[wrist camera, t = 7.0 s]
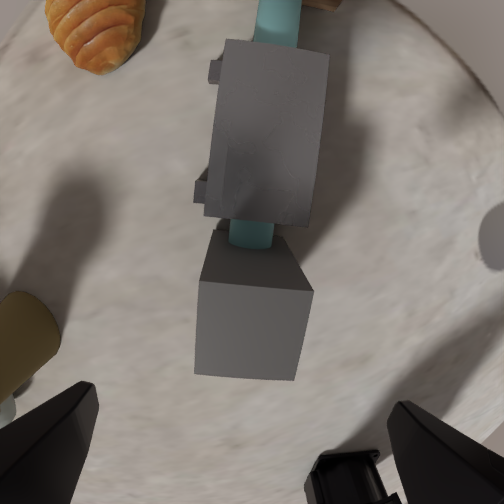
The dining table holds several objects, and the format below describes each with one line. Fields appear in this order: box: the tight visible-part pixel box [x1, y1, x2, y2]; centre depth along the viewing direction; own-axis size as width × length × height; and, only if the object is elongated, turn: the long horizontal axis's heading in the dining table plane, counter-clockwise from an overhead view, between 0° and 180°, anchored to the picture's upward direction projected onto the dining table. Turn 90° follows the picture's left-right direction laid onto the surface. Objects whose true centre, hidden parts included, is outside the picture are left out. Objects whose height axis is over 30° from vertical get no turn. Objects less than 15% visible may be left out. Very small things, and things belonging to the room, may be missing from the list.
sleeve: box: [193, 39, 330, 227], centre depth 15 cm, size 6×8×5 cm
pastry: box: [45, 0, 146, 75], centre depth 13 cm, size 9×7×4 cm
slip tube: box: [194, 0, 314, 381], centre depth 13 cm, size 4×24×8 cm, turn 173°
